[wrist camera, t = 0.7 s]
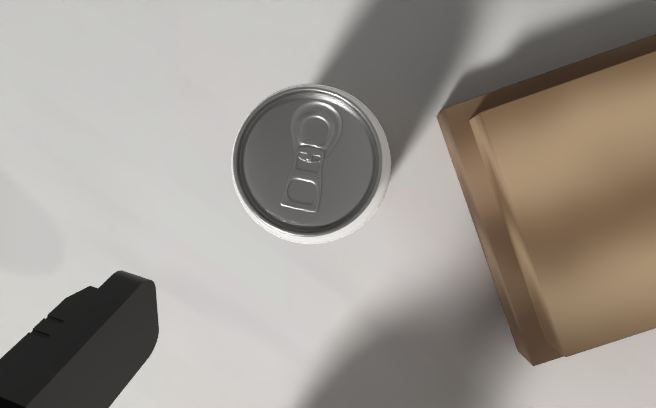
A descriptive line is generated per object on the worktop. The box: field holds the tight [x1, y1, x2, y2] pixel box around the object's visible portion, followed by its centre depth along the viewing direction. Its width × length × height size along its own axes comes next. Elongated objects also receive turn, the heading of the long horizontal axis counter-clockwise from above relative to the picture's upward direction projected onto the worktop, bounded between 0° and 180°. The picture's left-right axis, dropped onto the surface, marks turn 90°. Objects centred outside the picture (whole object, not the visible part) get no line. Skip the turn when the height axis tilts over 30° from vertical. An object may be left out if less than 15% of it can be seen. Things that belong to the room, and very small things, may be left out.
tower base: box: [437, 34, 656, 366], centre depth 31 cm, size 14×14×6 cm
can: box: [231, 84, 391, 244], centre depth 28 cm, size 6×6×12 cm
